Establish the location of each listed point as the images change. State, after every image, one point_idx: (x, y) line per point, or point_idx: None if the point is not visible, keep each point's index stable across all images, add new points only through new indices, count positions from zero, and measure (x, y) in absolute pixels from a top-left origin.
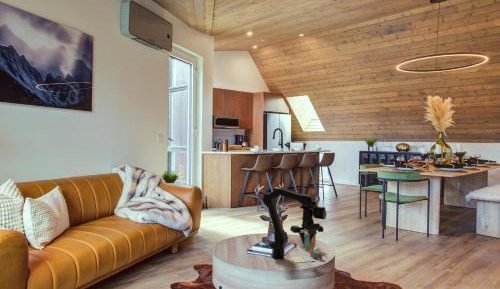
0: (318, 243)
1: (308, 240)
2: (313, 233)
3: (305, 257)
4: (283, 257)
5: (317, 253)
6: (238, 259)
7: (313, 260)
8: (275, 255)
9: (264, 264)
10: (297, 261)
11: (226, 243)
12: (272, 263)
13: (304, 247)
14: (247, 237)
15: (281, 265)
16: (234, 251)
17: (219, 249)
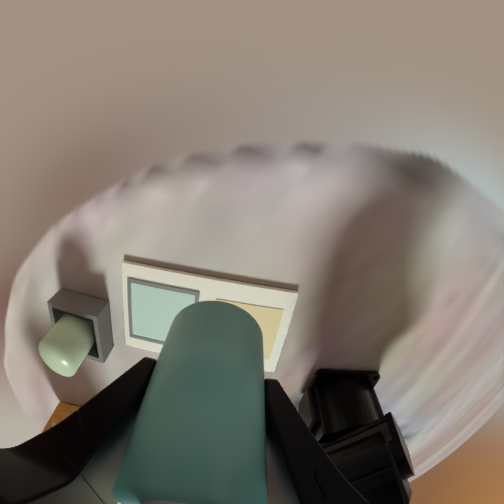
0: (37, 420)
1: (187, 393)
2: (2, 489)
3: (162, 339)
4: (318, 378)
5: (70, 322)
6: (487, 384)
7: (132, 274)
8: (369, 394)
9: (471, 318)
10: (272, 300)
11: None
12: (434, 322)
13: (259, 328)
14: None
15: (418, 279)
16: (430, 446)
17: (446, 454)
